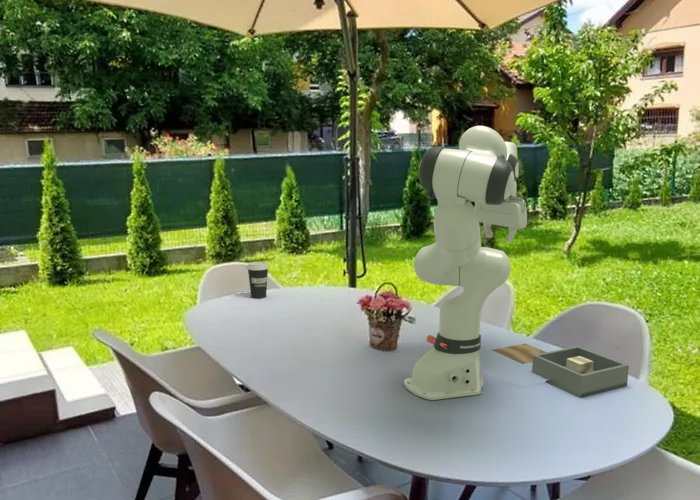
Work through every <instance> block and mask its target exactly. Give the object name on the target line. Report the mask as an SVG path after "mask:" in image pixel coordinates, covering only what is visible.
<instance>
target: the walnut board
mask: <svg viewBox="0 0 700 500" xmlns="http://www.w3.org/2000/svg"><path fill="white" fill-rule="evenodd" d="M492 351H494V352H496V353H497V354H499V355H502V356H504V357H507V358H508V359H510V360H514V361H515V362H517V363H519V364H522V365H524V364H525V365H526V364H529V363H533V355H536V354H541V353H546V352H547V351H544V350H542V349H539V348H537V347H535V346H532V345H529V344H527V343H520V344H516V345H515V344H514V345H510V346H505V347H500V348H495V349H492Z"/></svg>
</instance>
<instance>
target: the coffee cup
mask: <svg viewBox="0 0 700 500" xmlns="http://www.w3.org/2000/svg"><path fill="white" fill-rule="evenodd" d="M269 267H270V266H269V264H268V262H265V261H253V262H252V261H251V262H249V263H248V265H247V267H246V269H247V272H248V281H249V289H250V297H251V298H252V299H257V300H259V299H260V300H261V299H265V298H267V291H268V290H267V289H268V288H267V286H268V272H269V269H270V268H269Z"/></svg>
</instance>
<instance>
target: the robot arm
mask: <svg viewBox="0 0 700 500" xmlns="http://www.w3.org/2000/svg"><path fill="white" fill-rule="evenodd" d="M520 165H521V161H520V160H519V159H518V149H517V144H516V143H515V142H513V141H510V140H504V138H503V137H502V136H501V134H500V133H498V132H497V131H496V130H494V129H493V128H491V127H489V126H485V125H476V126H472V127H470V128H468V129H467V130H466V131H464V133H463V134H462V135H461V137H460V139H459V143H458V147H456V148H455V149H454V148H447V147H445V146H434V147H433V146H432V147H429V148H428V149H427V150H426V151H425V152H424V153H423V156H422V158H421V160H420V163H419V166H418V181H419V182H420V184H421V187H422V188H423V190H424V191H425V192H426V193H427V197H428V199H430V200H434V199H436V200H437V205H436V206H437V207H436V208H435V211H434V212H435V213H434V218H433V233H434V238H435V242H433V243H432V244H430V245H426V246H423V247H422V248H420V249H419V251H418V252H417V253H416V255H415V257H414V261H413V262H414V263H413V268H414V272H415V275H416V276H417V278H418V279H419V280H420V281H421V282H426V283H429V284H432V285H436V286H438V285H439V286H450V287H462V289H463V291H462V292H461V293H460V294H458V295H456V296H453V297H451V298H449V299H447V300H445V301H444V302H443V303H442V304H441V306H440V308H439V326H438V328H439V329H438V330H439V331H438V333H437V334H436V337H435V336H433V335H430V334H428V335H427V337H426V341H427V342H428V343H430V344H432V346H433V347H432V348H430V349H429V350H428V351H427V352H426V353H425V354H423V356H422V357H421V358H420V359H418V360H417V361H416V362H415V363H414V365H413V369H412V375H411V376H410V377H407V378H405V379H404V380H403V386H404V387H405V389H407V390H408V391H409V392H411V393H412V394H414V395H415V396H417V397H420V398H423V399H425V400H429V401H436V400H437V401H438V400H444V399H445V400H447V399H452V398H460V397H469V396H477V395H481V394H482V388H483V387H484V384H485V383H484V381H483V377H482V375H483V374H482V369H481V362H480V350H481V348H482V347H481V346H482V341H481V340H482V336H481V334H480V333H481V332H480V331H481V329H480V328H481V318H482V313H483V307H484V305H485V303H486V301H487V300H488V298H489V297H490V295H491V294H492V293H493V292H494V291H496V290H497V289H499V288H500V287H502V286H503V285H504V284H506V282H507V280H509V278H510V275H511V266H512V265H511V262H510V261H511V260H510V257H508V255H507V254H506V253H505V252H504V251H503V250H500V249H496V248H491V247H487V246H482V239H481V225H480V223H482V224H483V225H482V226H483V229H484V231H485V237H486V238H489V239H490V238H491V239H492V238H493V237H494V232H493V231H492V228H491V227H492V225H495V226H501V227H505V228H508V235H506V236H505V242H507V243H513V242H514V240H515V239H514V238H515V235H516V233H517V232H518V229H525V228H526V227H527V225H528V212H527V206H526V205H527V204H526V201H525V200H524V199H523V197H521V196H517V185H518V184H517V180H518V179H519V178H520ZM472 202H474V203H475V205H473V204H472ZM474 206H475V207H474Z"/></svg>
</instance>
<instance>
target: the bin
mask: <svg viewBox="0 0 700 500" xmlns="http://www.w3.org/2000/svg"><path fill="white" fill-rule="evenodd" d="M545 352H546V353H541V354H536V355H533V362H532V367H531V368H532V369H531V373H534V374H536V375H539V376H540V377H543V378H545V379H547V380H546V381H547V383H548V382H549V384H550V383H551V385H553V386H554V387H557V388H560V389H561V390H563V391H566V392H567V393H570V394H572V395H574V396H576V397H579V399H581V398H585V397H588V396H592V395H597V394H600V393H603V392H604V393H605V392H607V391H611V390H616V389H620V388H623V387H626V386H628V379H629V371H630V370H629V368H630V365H629V364H626V363H624V362H622V361H619V360H616V359H613V358H611V357H609V356H606V355H603V354H600V353H598V352H594V351H592V350H589V349H587V348H584V347H581V346H580V345H576V346H571V347H565V348H561V349H557V350H552V351H545ZM577 356H581V357H584V358H586V359H589V360H591V361H593V372H590V373H586V374H580V373H578V372H575V371H573V370H571V369H568V368H566V363H567V358H572V357H577Z"/></svg>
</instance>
